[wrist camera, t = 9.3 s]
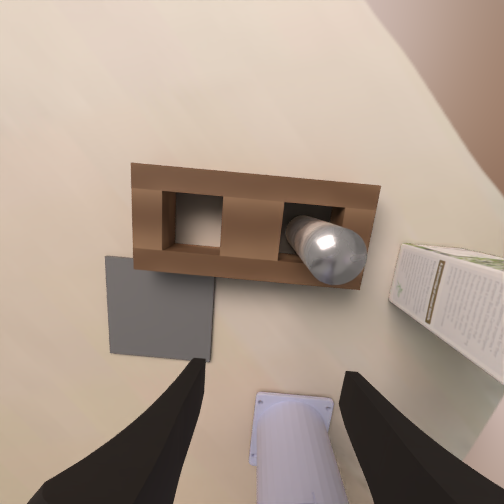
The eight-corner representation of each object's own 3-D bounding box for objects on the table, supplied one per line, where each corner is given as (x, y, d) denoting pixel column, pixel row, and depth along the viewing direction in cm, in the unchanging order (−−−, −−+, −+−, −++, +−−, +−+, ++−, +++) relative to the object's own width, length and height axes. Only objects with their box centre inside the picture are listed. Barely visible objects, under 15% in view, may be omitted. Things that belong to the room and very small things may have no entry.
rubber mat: (210, 360, 24) (209, 361, 23) (111, 351, 24) (110, 352, 23) (215, 265, 21) (214, 266, 21) (106, 255, 21) (104, 256, 21)
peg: (312, 252, 21) (353, 292, 12) (280, 243, 21) (298, 275, 12) (324, 221, 20) (376, 237, 12) (292, 210, 20) (319, 219, 11)
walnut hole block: (345, 277, 21) (359, 290, 18) (150, 259, 21) (133, 269, 18) (362, 187, 20) (381, 185, 17) (149, 168, 20) (130, 162, 17)
